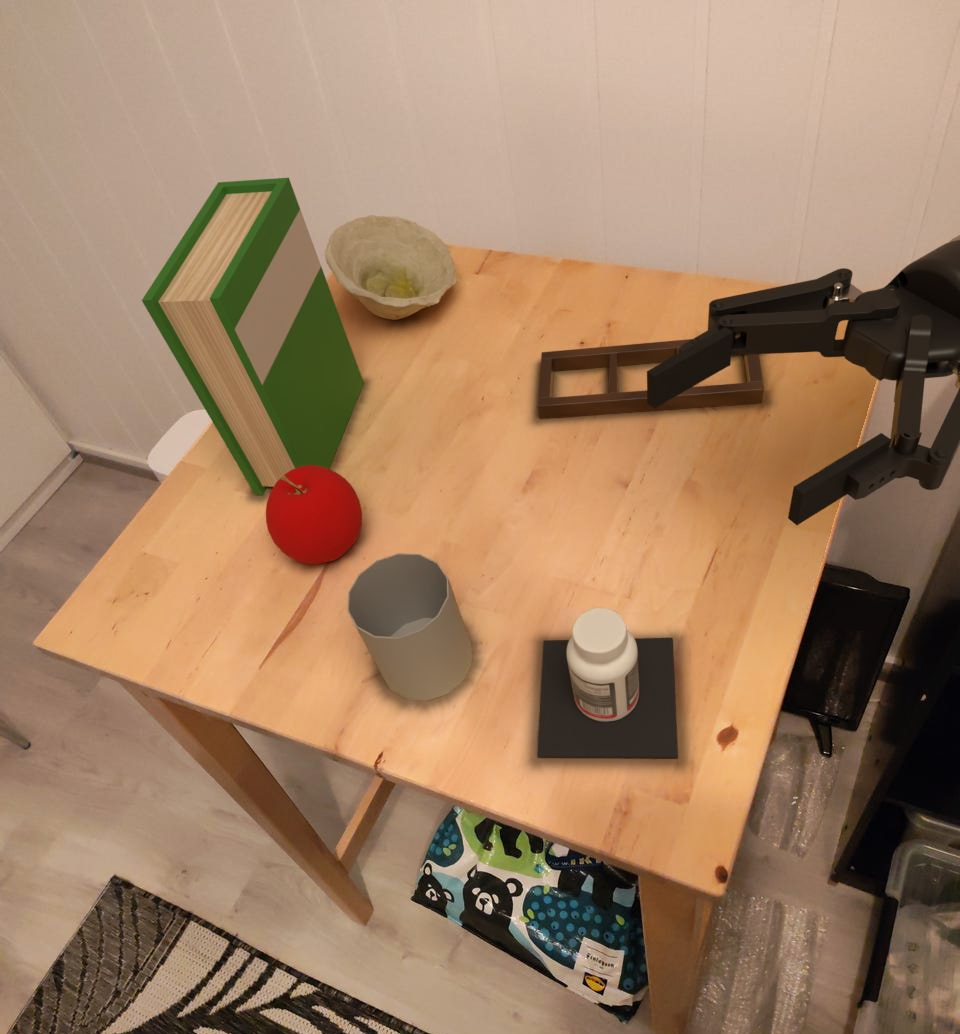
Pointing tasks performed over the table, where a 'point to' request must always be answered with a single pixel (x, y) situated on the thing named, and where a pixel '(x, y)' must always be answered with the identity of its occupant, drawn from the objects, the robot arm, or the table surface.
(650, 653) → the mat
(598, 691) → the pill bottle
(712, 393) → the bottle rack
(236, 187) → the hardback book
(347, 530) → the fruit
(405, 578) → the cup
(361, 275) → the bowl
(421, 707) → the table surface
